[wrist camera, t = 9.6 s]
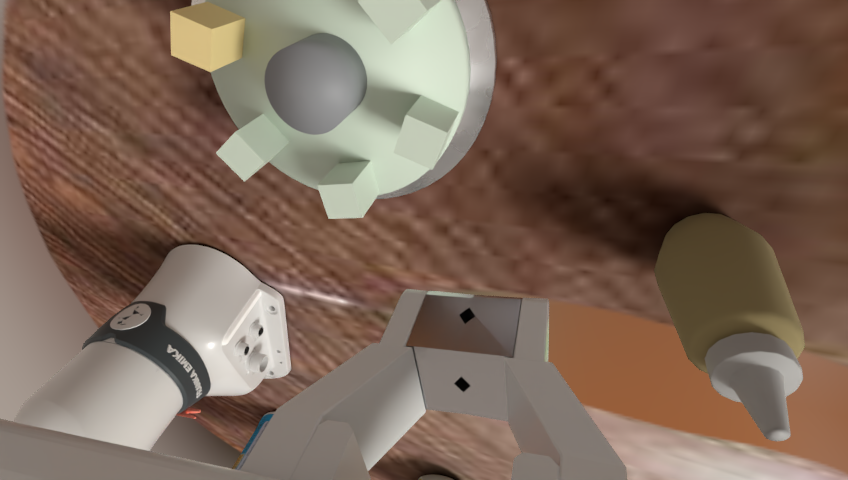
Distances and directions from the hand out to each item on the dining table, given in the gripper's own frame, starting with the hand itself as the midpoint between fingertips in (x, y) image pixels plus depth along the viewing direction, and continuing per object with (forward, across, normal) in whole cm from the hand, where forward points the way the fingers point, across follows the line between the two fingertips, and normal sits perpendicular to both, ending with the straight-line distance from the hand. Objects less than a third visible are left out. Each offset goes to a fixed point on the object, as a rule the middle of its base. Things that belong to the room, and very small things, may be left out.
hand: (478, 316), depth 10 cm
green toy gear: (+27, -16, -1) cm, 32 cm away
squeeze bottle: (+29, +12, -18) cm, 36 cm away
